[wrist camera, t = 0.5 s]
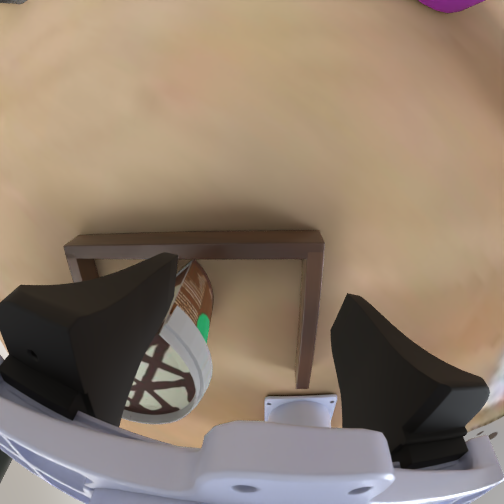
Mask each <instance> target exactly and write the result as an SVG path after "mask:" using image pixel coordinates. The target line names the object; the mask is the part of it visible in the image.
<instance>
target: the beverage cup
mask: <svg viewBox="0 0 504 504" xmlns="http://www.w3.org/2000/svg"><path fill="white" fill-rule="evenodd" d="M25 1H27V0H0V3H9V4H10V3H14V4H15V3H16V4H21V3H24V2H25Z"/></svg>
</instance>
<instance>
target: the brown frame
mask: <svg viewBox="0 0 504 504" xmlns="http://www.w3.org/2000/svg"><path fill="white" fill-rule="evenodd" d="M63 247H64V251H65V255H66V258H67V262H68V265H69V269H70V272H71V276H72V279H73V282H74V283H76V282H81V281H86V280H92V279H96V278H99V276H98V273H97V269H96V265H95V261H94V259H149V258H151V257H153V256H156V255H158V254H160V253H163V252H167V253H171V254H175V255H179V256H178V259H303V260H302V280H301V298H300V313H299V327H298V340H297V352H296V364H295V381H296V389H308V388H309V383H310V376H311V370H312V363H313V356H314V349H315V341H316V333H317V325H318V316H319V307H320V297H321V287H322V276H323V264H324V250H325V242H324V240H323V238H322V236H321V233H320V231H319V230H277V231H197V232H155V233H123V234H96V235H78V236H77V237H75V238H74V239H73V240H71V241H70V242H68V243H67V244H65V245H64V246H63Z"/></svg>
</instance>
